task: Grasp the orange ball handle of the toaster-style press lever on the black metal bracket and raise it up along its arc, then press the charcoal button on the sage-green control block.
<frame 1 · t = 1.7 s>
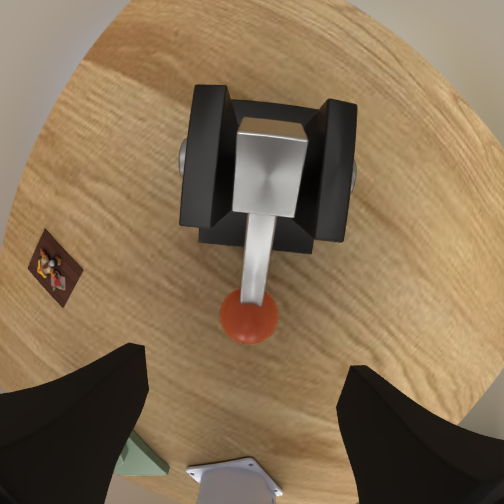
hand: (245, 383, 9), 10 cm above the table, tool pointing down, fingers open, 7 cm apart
lever: (256, 255, 12), point 6 cm above the table, hinge at -25.0°
diorama: (54, 268, 19), on the table
bracket: (262, 174, 17), on the table
control block: (117, 443, 24), on the table
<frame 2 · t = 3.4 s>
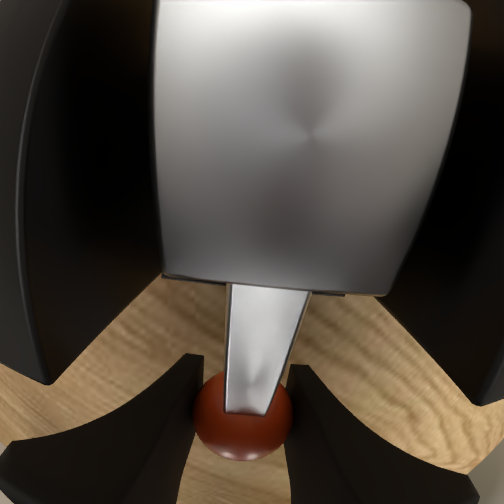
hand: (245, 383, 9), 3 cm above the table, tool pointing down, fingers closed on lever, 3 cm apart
lever: (256, 345, 5), point 6 cm above the table, hinge at -25.0°, touching gripper
bracket: (266, 165, 10), on the table
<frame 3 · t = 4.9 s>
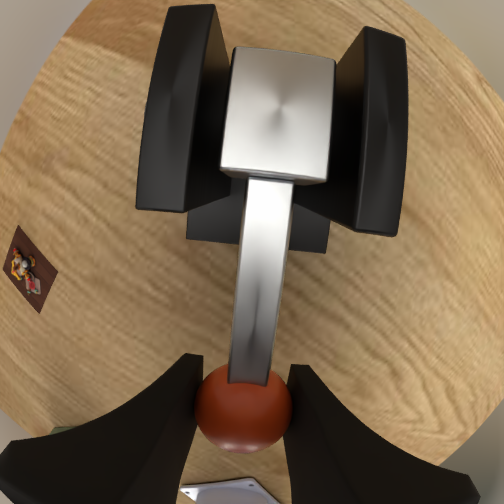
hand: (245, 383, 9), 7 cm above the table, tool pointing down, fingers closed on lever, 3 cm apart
lever: (258, 288, 7), point 8 cm above the table, hinge at 1.6°, touching gripper
diorama: (28, 269, 16), on the table
bracket: (265, 156, 14), on the table
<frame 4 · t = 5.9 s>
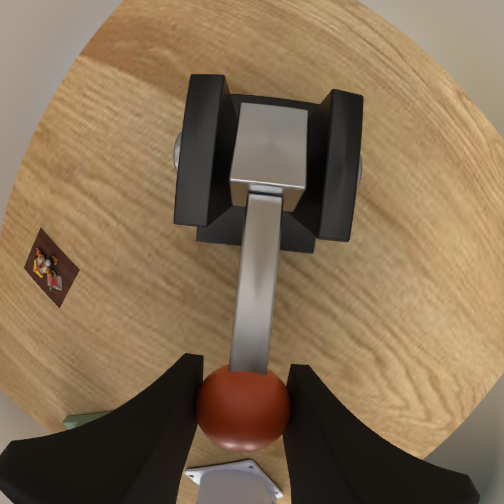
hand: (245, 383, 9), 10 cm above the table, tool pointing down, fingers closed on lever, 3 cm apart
lever: (256, 284, 9), point 9 cm above the table, hinge at 20.6°, touching gripper
diorama: (50, 268, 19), on the table
bracket: (262, 171, 17), on the table
control block: (115, 445, 23), on the table
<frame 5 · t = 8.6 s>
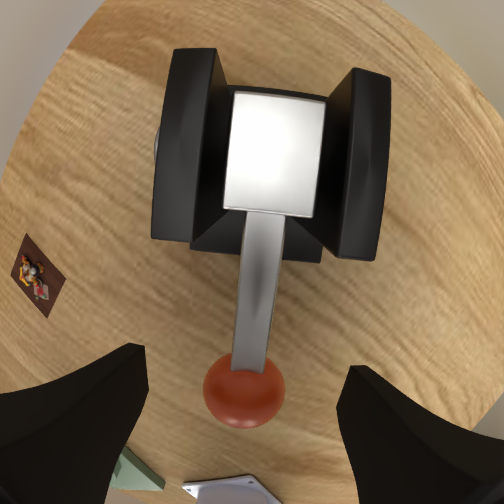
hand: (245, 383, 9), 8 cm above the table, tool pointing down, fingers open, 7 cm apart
lever: (255, 295, 8), point 8 cm above the table, hinge at -4.7°
diorama: (36, 276, 17), on the table
bracket: (264, 171, 15), on the table
control block: (110, 457, 21), on the table
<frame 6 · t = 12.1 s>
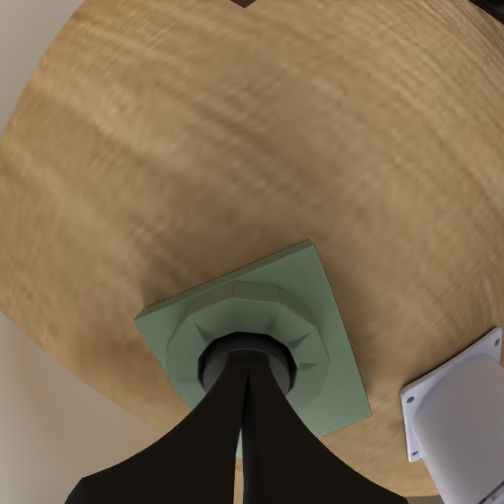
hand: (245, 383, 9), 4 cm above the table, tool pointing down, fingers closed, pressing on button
button: (246, 369, 10), point 3 cm above the table, slide at -0.7 cm, touching gripper
control block: (266, 367, 13), on the table
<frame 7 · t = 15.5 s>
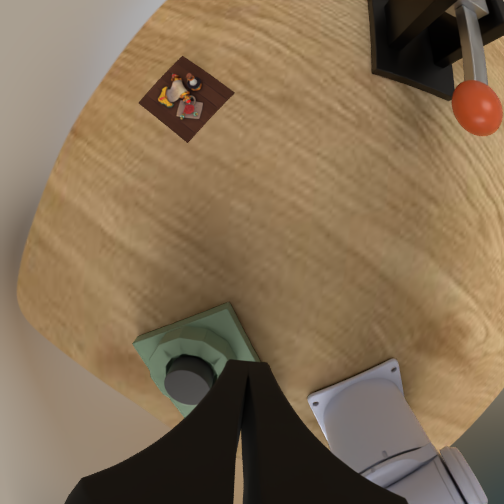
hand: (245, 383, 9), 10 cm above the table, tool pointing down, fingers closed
button: (189, 380, 17), point 4 cm above the table, slide at 0.1 cm
lever: (472, 45, 8), point 8 cm above the table, hinge at -4.7°
diorama: (185, 97, 17), on the table
bracket: (409, 40, 15), on the table
control block: (211, 373, 21), on the table
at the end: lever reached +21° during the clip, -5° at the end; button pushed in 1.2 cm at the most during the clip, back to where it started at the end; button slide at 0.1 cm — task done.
